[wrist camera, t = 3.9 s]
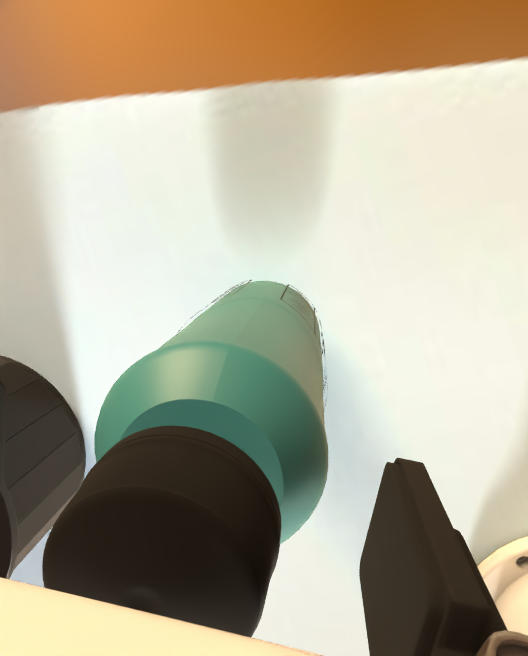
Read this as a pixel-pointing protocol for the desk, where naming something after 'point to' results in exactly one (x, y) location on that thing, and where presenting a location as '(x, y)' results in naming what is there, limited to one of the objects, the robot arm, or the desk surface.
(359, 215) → the desk surface
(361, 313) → the desk surface
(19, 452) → the black short cylinder
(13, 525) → the lid
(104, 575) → the beverage bottle
